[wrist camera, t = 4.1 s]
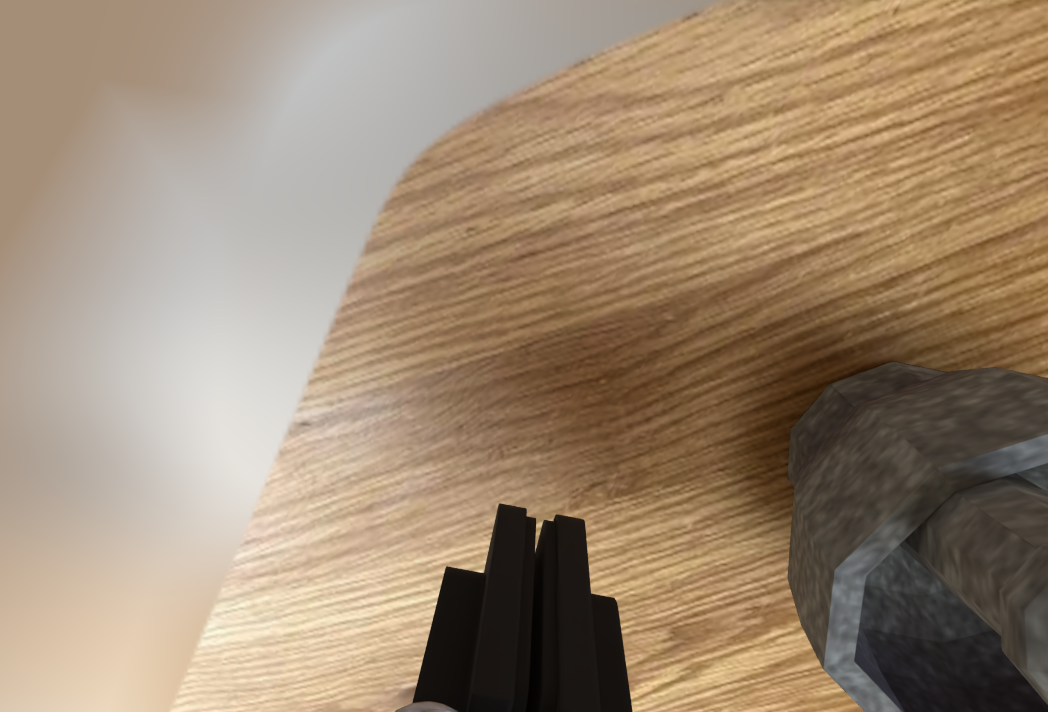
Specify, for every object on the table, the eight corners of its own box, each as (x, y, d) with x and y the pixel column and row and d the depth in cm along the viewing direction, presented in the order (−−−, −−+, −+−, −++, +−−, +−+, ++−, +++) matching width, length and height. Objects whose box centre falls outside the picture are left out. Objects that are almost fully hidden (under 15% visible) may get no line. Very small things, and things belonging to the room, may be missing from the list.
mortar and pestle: (1086, 463, 19) (1848, 947, 8) (835, 601, 22) (1136, 1108, 11) (916, 207, 16) (1736, 398, 5) (651, 403, 19) (799, 812, 8)
